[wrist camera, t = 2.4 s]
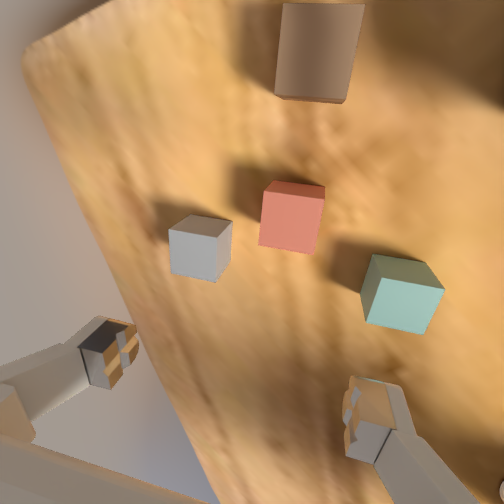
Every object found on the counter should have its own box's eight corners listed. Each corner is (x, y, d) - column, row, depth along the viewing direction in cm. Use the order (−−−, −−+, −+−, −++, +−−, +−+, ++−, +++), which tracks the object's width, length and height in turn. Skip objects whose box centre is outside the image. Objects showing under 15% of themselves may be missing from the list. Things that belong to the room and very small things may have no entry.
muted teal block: (425, 262, 27) (445, 289, 22) (408, 302, 29) (423, 334, 25) (372, 253, 28) (381, 277, 23) (359, 293, 30) (365, 322, 25)
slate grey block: (232, 221, 30) (217, 237, 25) (230, 260, 32) (215, 282, 28) (190, 214, 31) (168, 229, 26) (191, 253, 33) (170, 273, 28)
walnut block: (356, 29, 21) (365, 4, 16) (341, 104, 23) (345, 99, 18) (291, 27, 22) (283, 3, 17) (283, 99, 24) (273, 94, 19)
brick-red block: (324, 186, 26) (324, 199, 22) (315, 234, 28) (313, 255, 24) (273, 179, 27) (263, 190, 22) (268, 226, 29) (258, 245, 25)
